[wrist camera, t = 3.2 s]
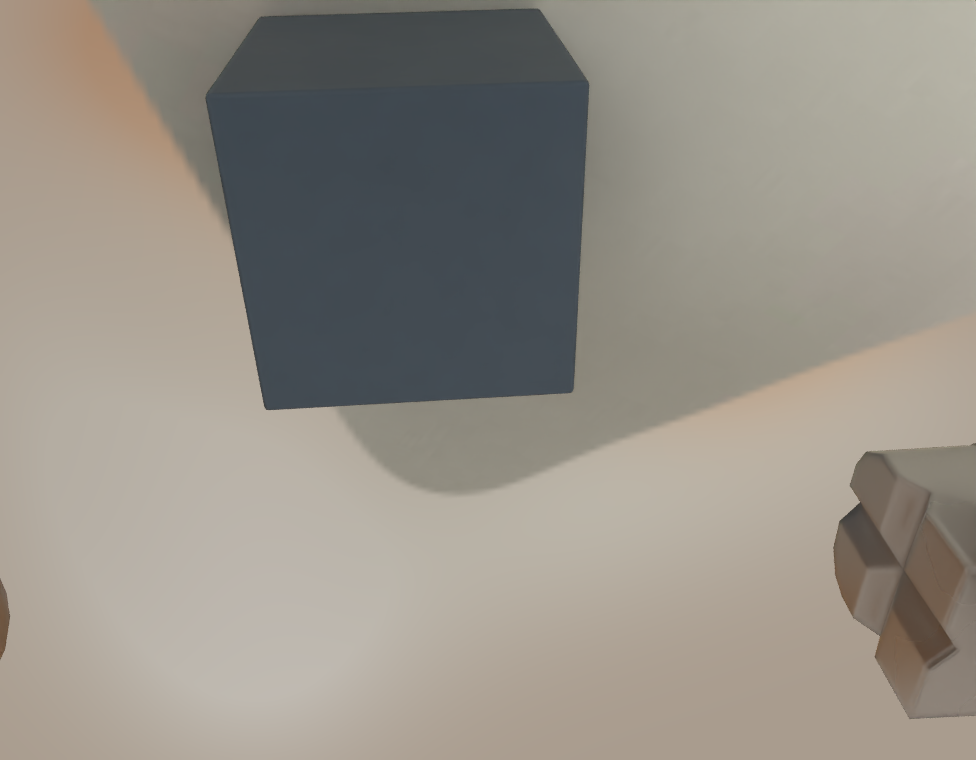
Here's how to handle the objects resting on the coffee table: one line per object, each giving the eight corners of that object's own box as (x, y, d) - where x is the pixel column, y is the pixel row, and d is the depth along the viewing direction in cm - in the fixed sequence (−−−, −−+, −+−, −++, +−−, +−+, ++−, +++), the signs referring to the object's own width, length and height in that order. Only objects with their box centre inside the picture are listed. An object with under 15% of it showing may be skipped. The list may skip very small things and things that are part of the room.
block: (296, 272, 18) (264, 411, 14) (258, 15, 15) (203, 94, 11) (535, 261, 18) (573, 394, 14) (540, 7, 15) (590, 80, 11)
